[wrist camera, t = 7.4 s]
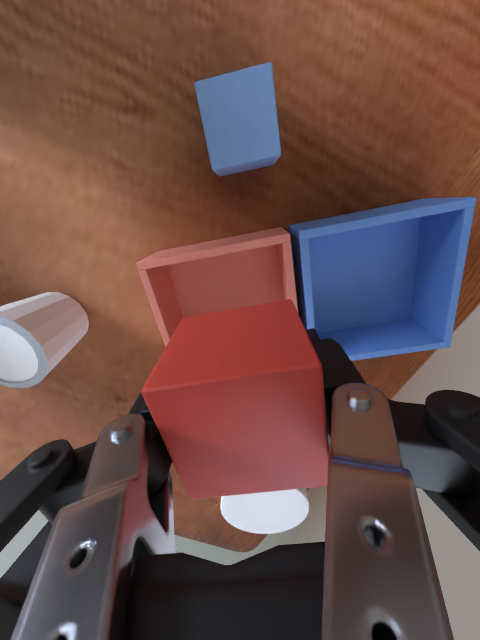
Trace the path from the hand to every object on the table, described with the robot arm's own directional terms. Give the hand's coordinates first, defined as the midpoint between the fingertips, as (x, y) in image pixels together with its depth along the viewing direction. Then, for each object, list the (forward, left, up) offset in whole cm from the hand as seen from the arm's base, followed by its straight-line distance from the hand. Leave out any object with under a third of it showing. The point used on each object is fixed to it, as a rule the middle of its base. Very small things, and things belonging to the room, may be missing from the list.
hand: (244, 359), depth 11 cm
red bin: (+2, -2, -14) cm, 14 cm away
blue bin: (+2, +10, -14) cm, 17 cm away
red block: (0, 0, 0) cm, 0 cm away
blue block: (-11, +2, -14) cm, 18 cm away
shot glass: (+1, -19, -14) cm, 24 cm away
